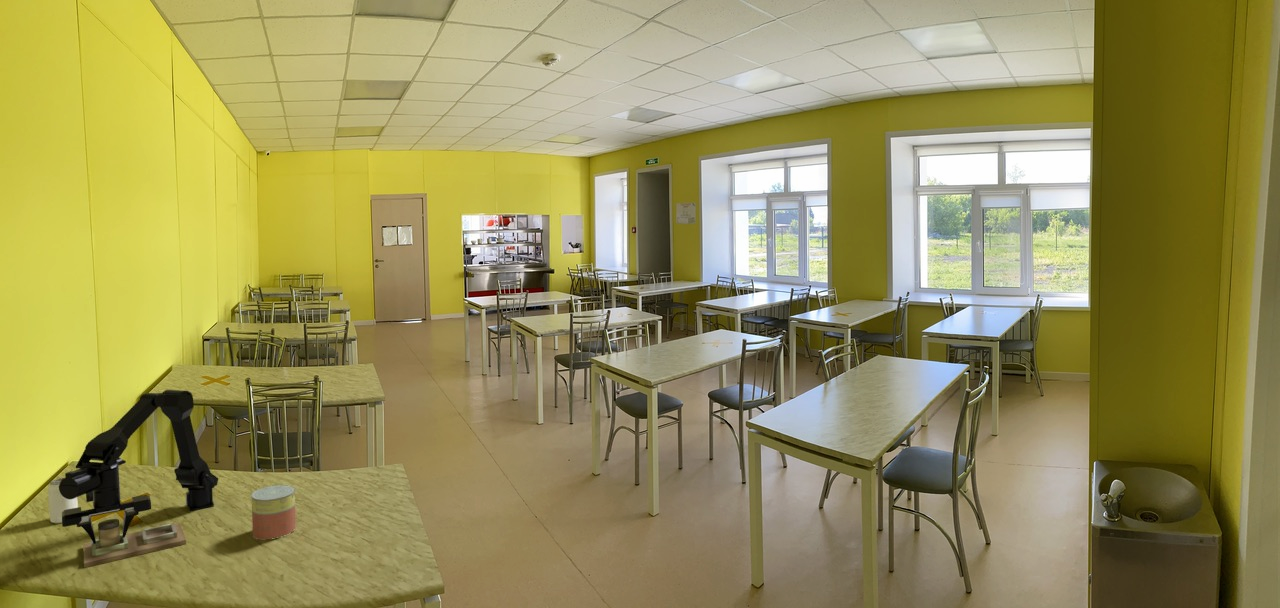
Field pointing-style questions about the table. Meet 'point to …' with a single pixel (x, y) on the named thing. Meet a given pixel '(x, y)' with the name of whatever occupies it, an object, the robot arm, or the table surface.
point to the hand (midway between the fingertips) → (109, 540)
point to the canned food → (273, 511)
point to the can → (58, 502)
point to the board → (135, 544)
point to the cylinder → (109, 533)
